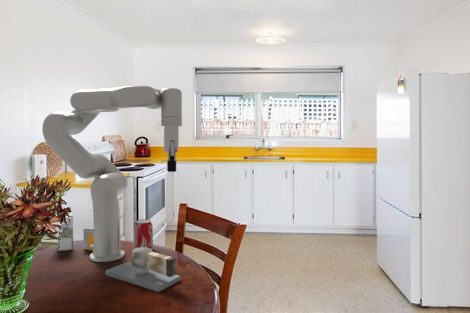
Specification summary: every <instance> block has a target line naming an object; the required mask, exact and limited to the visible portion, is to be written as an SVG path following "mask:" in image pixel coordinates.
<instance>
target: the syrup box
mask: <svg viewBox="0 0 470 313" xmlns="http://www.w3.org/2000/svg"><path fill="white" fill-rule="evenodd" d="M69 213H70V214H69V216H71V217H72V218H69V217H67V219H70V222H68V221H67V223H68V226H67V225H66V224H62V225H61V226H62V229H63V231H62V232H61V236H58V235H57V252H64V251H73V250H74V220H73V218H74V217H73V215H74V214H73V212H69ZM58 238H60V239H61V240H58Z"/></svg>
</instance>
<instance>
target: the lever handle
mask: <svg viewBox="0 0 470 313" xmlns="http://www.w3.org/2000/svg"><path fill="white" fill-rule="evenodd" d="M131 262H132V266H134V267H147V269H148V270H151V271H154V272H157V273H160V274H163V275H166V276H168V277H172V276H174V275H177V257H174V256H168V255H165V254H161V253H160V252H159V253H158V252H156V251H153V248H152V249H151V248H146V247H143V248H136V249H135V248H134V249H133V250H131Z"/></svg>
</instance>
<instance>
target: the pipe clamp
mask: <svg viewBox="0 0 470 313" xmlns="http://www.w3.org/2000/svg"><path fill="white" fill-rule="evenodd" d="M93 243H94V234H88V251H93V249H91V248H90V245H93ZM120 249H122V239H120Z"/></svg>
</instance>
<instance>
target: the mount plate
mask: <svg viewBox="0 0 470 313" xmlns="http://www.w3.org/2000/svg"><path fill="white" fill-rule="evenodd" d="M104 274H105V276H106V277H107V276H108V277H111V278H113V279H116V280H119V281H123V282H126V283H130V284H133V285H136V286H139V287H141V288H144V289H148V290H151V291H154V292H156V293H159V292H161V291H164V290H165V289H167V288H169V287H171V286H173V285H175V284H176V283H179V282H181V281H182V280H181V275H179V274H176V275H174V276H172V277H168V276H166V275H163V274H160V273H157V272H154V271H151V270H148V269H147V267H134V266H132V261H126V262H124V263H121V264H119V265H116V266H114V267H111V268H109V269H108V268H107V269H105V271H104Z"/></svg>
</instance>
